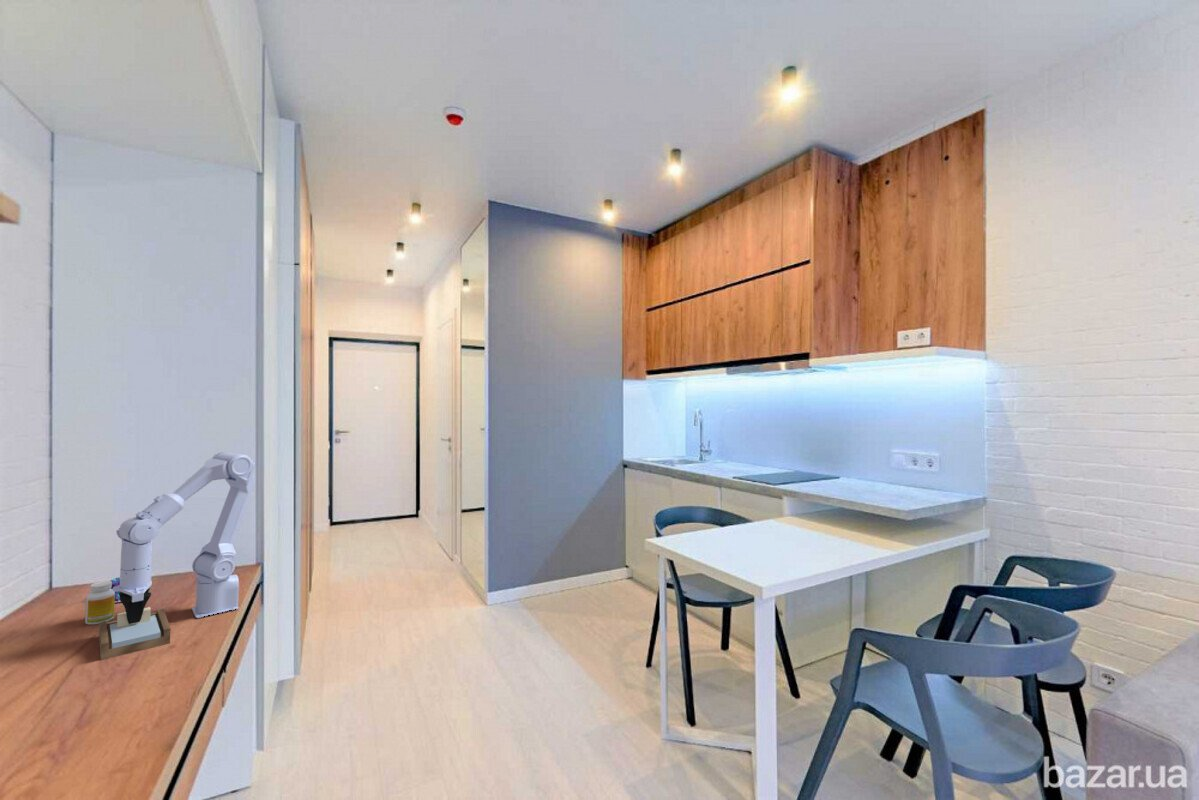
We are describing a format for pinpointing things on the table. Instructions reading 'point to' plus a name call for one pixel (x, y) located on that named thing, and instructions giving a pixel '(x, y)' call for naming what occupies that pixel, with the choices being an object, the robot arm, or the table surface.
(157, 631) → the lid
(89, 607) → the supplement bottle
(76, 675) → the table surface
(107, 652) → the box
